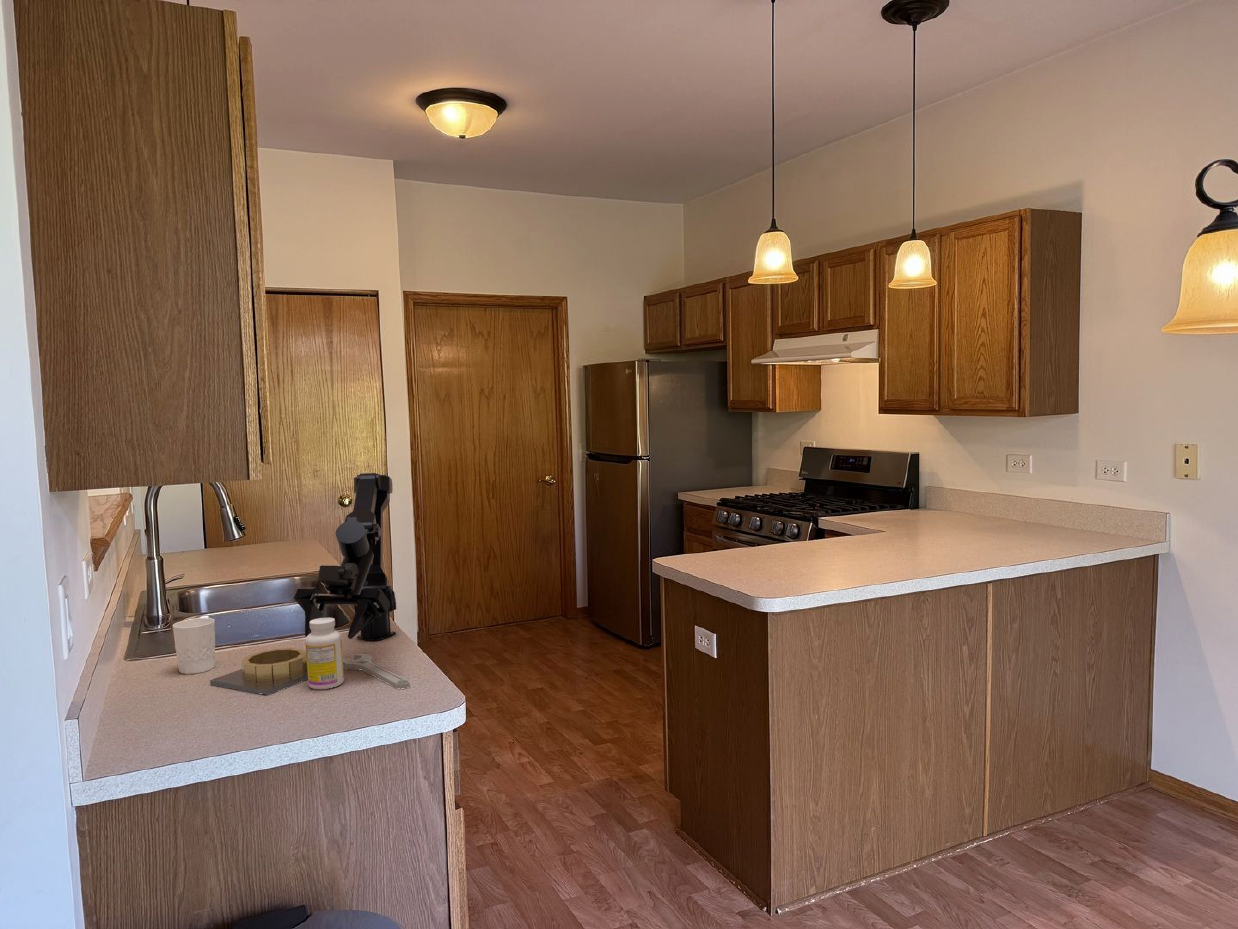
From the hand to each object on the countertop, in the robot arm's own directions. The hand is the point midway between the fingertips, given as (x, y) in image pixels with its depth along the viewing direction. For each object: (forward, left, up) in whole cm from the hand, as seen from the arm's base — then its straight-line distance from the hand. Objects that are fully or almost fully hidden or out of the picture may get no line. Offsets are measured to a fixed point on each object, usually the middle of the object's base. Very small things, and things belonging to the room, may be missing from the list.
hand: (327, 637), depth 168 cm
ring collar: (+1, -14, -9) cm, 16 cm away
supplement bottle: (+1, 0, -9) cm, 9 cm away
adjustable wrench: (-7, +5, -10) cm, 13 cm away
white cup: (+4, -34, -9) cm, 35 cm away
